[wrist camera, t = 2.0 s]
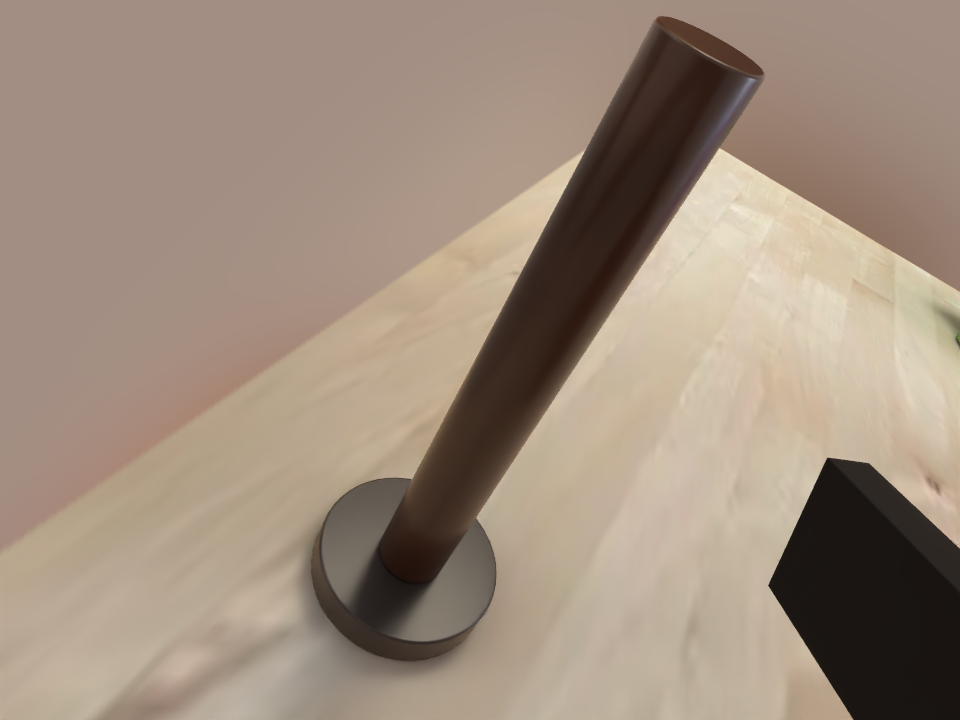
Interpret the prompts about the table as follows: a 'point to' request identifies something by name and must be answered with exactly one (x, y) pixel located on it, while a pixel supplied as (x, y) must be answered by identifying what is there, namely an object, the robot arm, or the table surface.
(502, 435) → the peg on round base
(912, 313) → the table surface
